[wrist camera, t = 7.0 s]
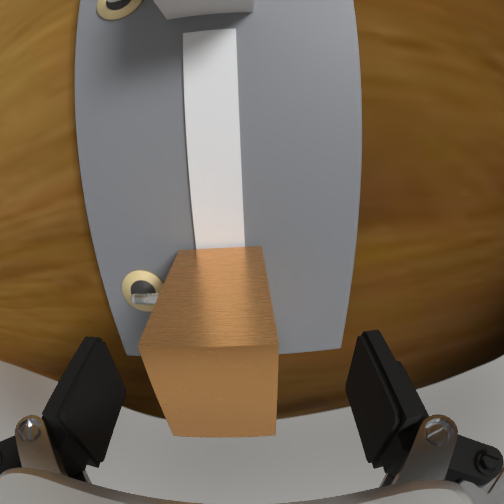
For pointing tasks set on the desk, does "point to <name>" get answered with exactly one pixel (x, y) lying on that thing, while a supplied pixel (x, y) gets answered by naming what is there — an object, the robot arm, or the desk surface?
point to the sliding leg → (213, 344)
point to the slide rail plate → (223, 149)
